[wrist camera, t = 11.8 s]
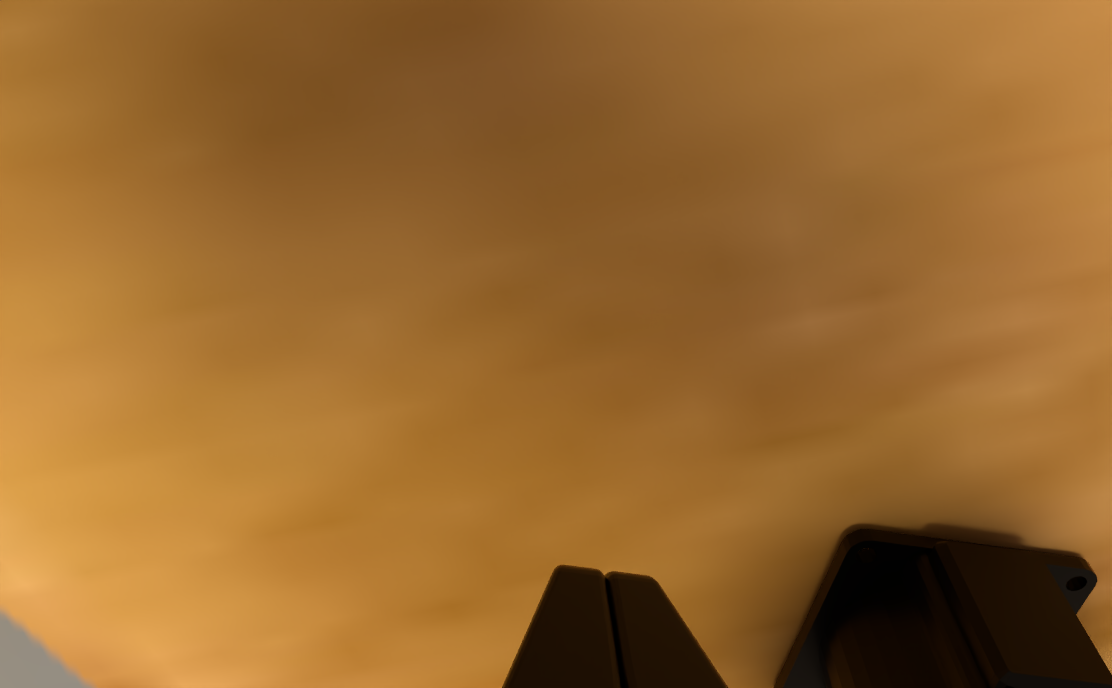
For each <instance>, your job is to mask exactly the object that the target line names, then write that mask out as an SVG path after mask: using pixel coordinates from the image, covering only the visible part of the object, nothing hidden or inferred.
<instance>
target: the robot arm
mask: <svg viewBox="0 0 1112 688" xmlns="http://www.w3.org/2000/svg"><path fill="white" fill-rule="evenodd" d="M864 548H869V549H867V550H865V551H860V550H862V549H864ZM1096 582H1097V576H1096V574H1095V573H1094V571H1093V569H1092V568H1091V566H1090V565H1089V563H1088V562H1087V561H1086V560H1084V559H1081V558H1077V557H1070V556H1063V555H1055V554H1048V553H1041V552H1034V551H1026V550H1019V549H1012V548H1004V547H997V546H990V545H982V544H975V543H968V542H960V541H953V540H946V539H938V538H931V537H924V536H916V535H909V534H902V533H894V532H887V531H880V530H872V529H860V530H857V531H853V532H852V533H850V534H849V535H847V536H846V537H845V539H844V540H843V541H842V543H841V545H840V548H839V550H838V552H837V554H836V556H835V558H834V560H833V563H832V565H831V567H830V569H829V571H828V573H827V575H826V577H825V580H824V582H823V584H822V586H821V588H820V590H819V592H818V595H817V597H816V599H815V601H814V603H813V605H812V607H811V609H810V612H809V614H808V616H807V618H806V620H805V622H804V624H803V627H802V629H801V631H800V633H799V635H798V637H797V639H796V641H795V644H794V646H793V648H792V650H791V652H790V654H789V656H788V659H787V661H786V663H785V665H784V667H783V669H782V671H781V674H780V676H779V678H778V680H777V682H776V684H775V686H774V688H1112V675H1111V673H1110V671H1109V670H1108V668H1107V666H1106V665H1105V663H1104V661H1103V659H1102V658H1101V656H1100V654H1099V653H1098V651H1097V649H1096V648H1095V646H1094V644H1093V643H1092V641H1091V639H1090V638H1089V636H1088V634H1087V633H1086V631H1085V629H1084V628H1083V626H1082V624H1081V623H1080V621H1079V619H1078V618H1077V616H1076V614H1077V612H1078V611H1079V609H1080V608H1081V606H1082V605H1083V603H1084V602H1085V600H1086V599H1087V597H1088V596H1089V594H1090V593H1091V591H1092V590H1093V588H1094V587H1095V585H1096ZM502 688H728V687H727V685H726V684H725V682H724V681H723V679H722V678H721V676H720V675H719V673H718V672H717V670H716V669H715V667H714V666H713V664H712V663H711V661H710V660H709V658H708V657H707V655H706V654H705V652H704V651H703V649H702V648H701V646H700V645H699V643H698V642H697V640H696V639H695V637H694V636H693V634H692V633H691V631H690V630H689V628H688V627H687V625H686V624H685V622H684V621H683V619H682V618H681V616H680V615H679V613H678V612H677V610H676V609H675V607H674V606H673V604H672V603H671V601H670V600H669V598H668V597H667V595H666V594H665V592H664V591H663V589H662V588H661V586H660V585H659V583H658V582H657V581H656V580H655V579H653V578H652V577H650V576H647V575H639V574H631V573H623V572H616V571H612V572H609V573H607V574H606V575H605V576H604V575H603V573H602V572H601V571H600V570H598V569H592V568H584V567H576V566H568V565H559V566H557V567H556V568H555V569H554V571H553V573H552V575H551V577H550V579H549V582H548V584H547V586H546V589H545V591H544V593H543V595H542V598H541V600H540V602H539V604H538V607H537V609H536V611H535V614H534V616H533V618H532V620H531V623H530V625H529V627H528V630H527V632H526V634H525V636H524V639H523V641H522V643H521V645H520V648H519V650H518V652H517V655H516V657H515V659H514V661H513V664H512V666H511V668H510V671H509V673H508V675H507V677H506V680H505V682H504V684H503V686H502Z"/></svg>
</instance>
